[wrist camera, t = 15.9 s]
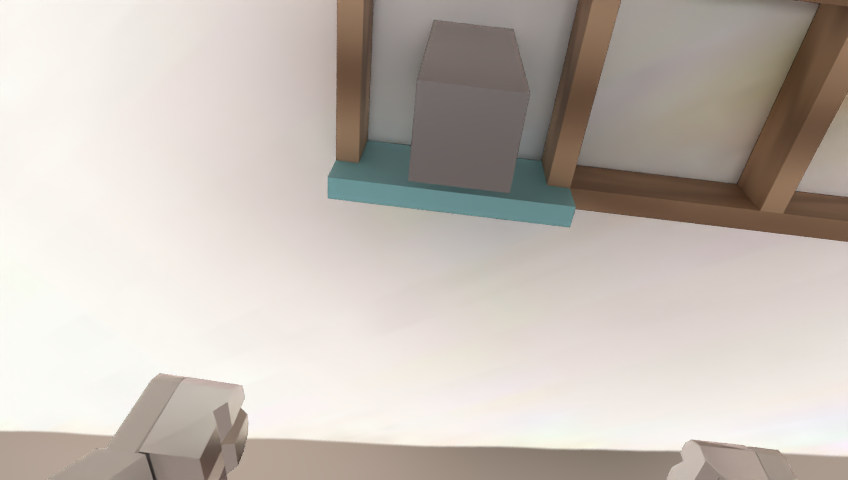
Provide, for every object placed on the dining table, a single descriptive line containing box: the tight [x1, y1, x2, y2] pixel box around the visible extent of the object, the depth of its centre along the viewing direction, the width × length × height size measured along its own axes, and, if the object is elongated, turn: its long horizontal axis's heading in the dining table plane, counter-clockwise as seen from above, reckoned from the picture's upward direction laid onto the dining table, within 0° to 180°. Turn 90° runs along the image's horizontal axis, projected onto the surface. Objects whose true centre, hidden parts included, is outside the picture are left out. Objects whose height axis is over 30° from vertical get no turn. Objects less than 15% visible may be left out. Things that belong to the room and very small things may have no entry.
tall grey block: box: [408, 20, 530, 193], centre depth 25 cm, size 4×4×10 cm
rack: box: [328, 0, 848, 242], centre depth 27 cm, size 12×35×5 cm, turn 85°
